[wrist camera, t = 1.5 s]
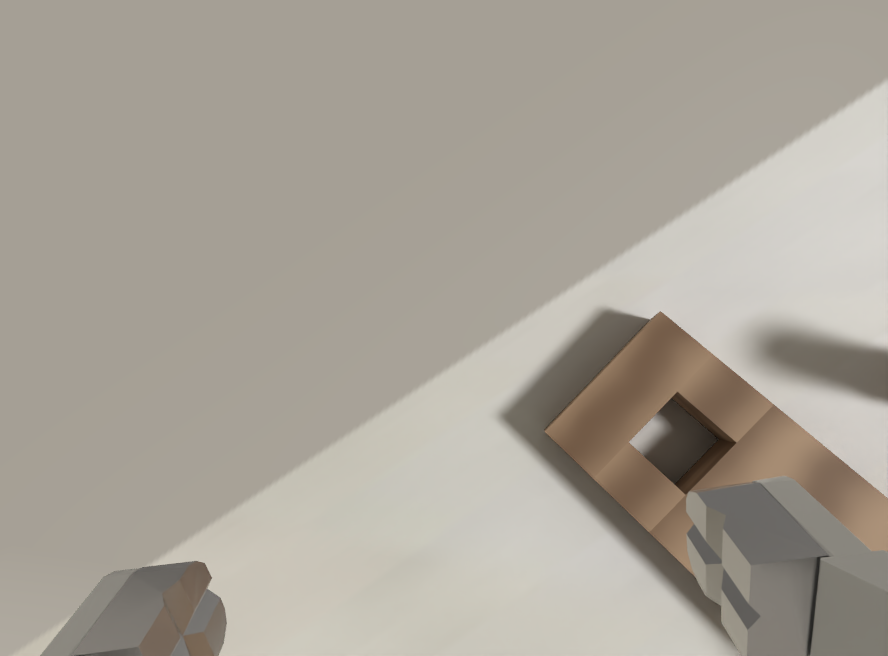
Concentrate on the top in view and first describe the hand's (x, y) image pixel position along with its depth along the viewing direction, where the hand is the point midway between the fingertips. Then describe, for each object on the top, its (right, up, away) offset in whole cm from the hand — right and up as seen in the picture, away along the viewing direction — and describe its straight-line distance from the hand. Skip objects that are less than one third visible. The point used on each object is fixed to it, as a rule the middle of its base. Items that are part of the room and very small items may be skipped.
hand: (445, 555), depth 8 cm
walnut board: (+20, -7, +28) cm, 35 cm away
